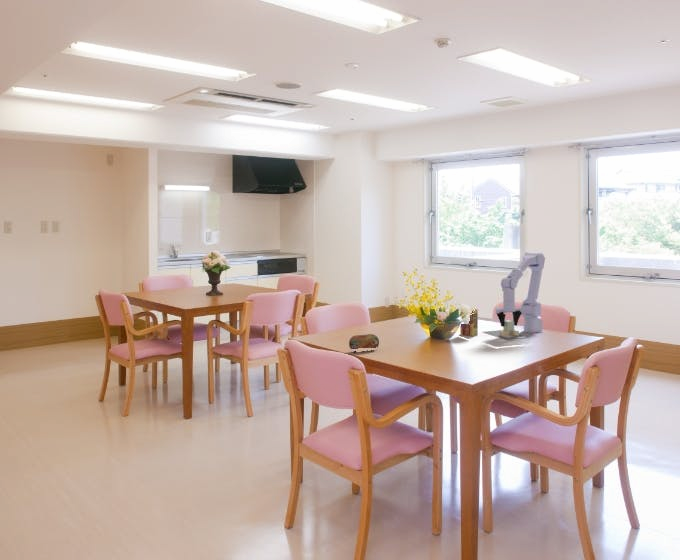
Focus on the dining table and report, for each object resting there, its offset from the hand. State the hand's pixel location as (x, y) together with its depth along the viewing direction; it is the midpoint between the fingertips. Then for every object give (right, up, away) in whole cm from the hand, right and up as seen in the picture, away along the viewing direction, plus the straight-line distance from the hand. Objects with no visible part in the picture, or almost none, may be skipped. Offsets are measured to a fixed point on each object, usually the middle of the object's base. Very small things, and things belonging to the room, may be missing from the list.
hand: (509, 325), depth 314 cm
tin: (-78, -11, -22) cm, 81 cm away
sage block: (0, -2, 0) cm, 2 cm away
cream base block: (0, -5, 0) cm, 5 cm away
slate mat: (-1, -6, +4) cm, 8 cm away
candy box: (-20, -7, +7) cm, 22 cm away
